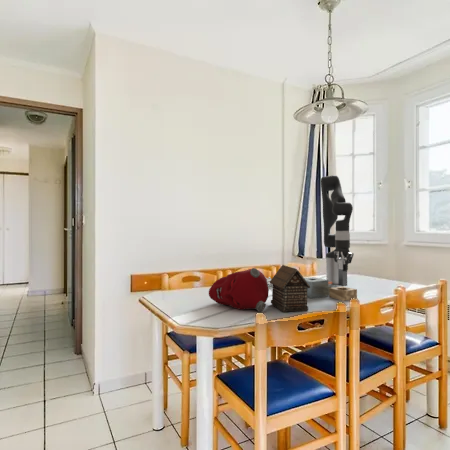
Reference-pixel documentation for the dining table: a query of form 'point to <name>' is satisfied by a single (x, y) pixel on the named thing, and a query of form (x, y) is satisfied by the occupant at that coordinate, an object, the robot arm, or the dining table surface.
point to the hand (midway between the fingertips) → (342, 270)
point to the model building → (289, 290)
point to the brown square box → (343, 293)
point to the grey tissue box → (318, 287)
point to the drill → (341, 274)
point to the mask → (241, 290)
